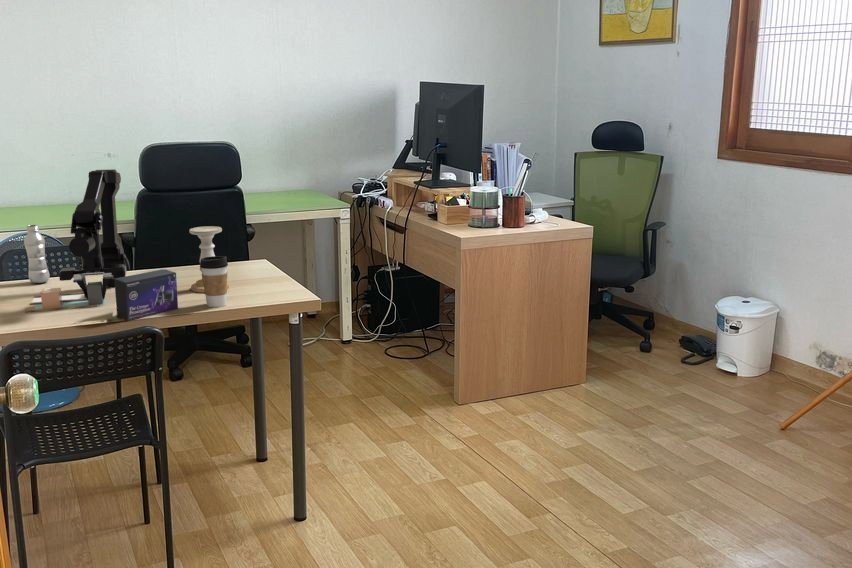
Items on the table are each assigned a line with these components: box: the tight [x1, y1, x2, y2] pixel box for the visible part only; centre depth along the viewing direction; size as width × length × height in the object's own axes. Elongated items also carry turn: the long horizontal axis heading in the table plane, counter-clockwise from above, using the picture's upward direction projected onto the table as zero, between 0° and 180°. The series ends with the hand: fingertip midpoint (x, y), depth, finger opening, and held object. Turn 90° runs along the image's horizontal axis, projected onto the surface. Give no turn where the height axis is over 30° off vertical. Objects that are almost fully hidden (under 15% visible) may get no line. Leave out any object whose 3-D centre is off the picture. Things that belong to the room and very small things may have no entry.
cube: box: [40, 287, 64, 309], centre depth 252 cm, size 5×5×5 cm
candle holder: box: [189, 225, 230, 294], centre depth 274 cm, size 12×12×20 cm
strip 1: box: [30, 294, 86, 303], centre depth 262 cm, size 20×7×2 cm, turn 107°
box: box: [114, 268, 179, 322], centre depth 247 cm, size 17×7×12 cm, turn 139°
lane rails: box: [24, 291, 98, 314], centre depth 258 cm, size 20×19×2 cm
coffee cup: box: [199, 255, 229, 308], centre depth 255 cm, size 8×8×15 cm
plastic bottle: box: [23, 224, 50, 284], centre depth 285 cm, size 6×7×20 cm
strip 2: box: [33, 280, 107, 310], centre depth 254 cm, size 20×7×7 cm, turn 107°
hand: (96, 299), depth 256 cm, fingers closed on strip 2, 4 cm apart
